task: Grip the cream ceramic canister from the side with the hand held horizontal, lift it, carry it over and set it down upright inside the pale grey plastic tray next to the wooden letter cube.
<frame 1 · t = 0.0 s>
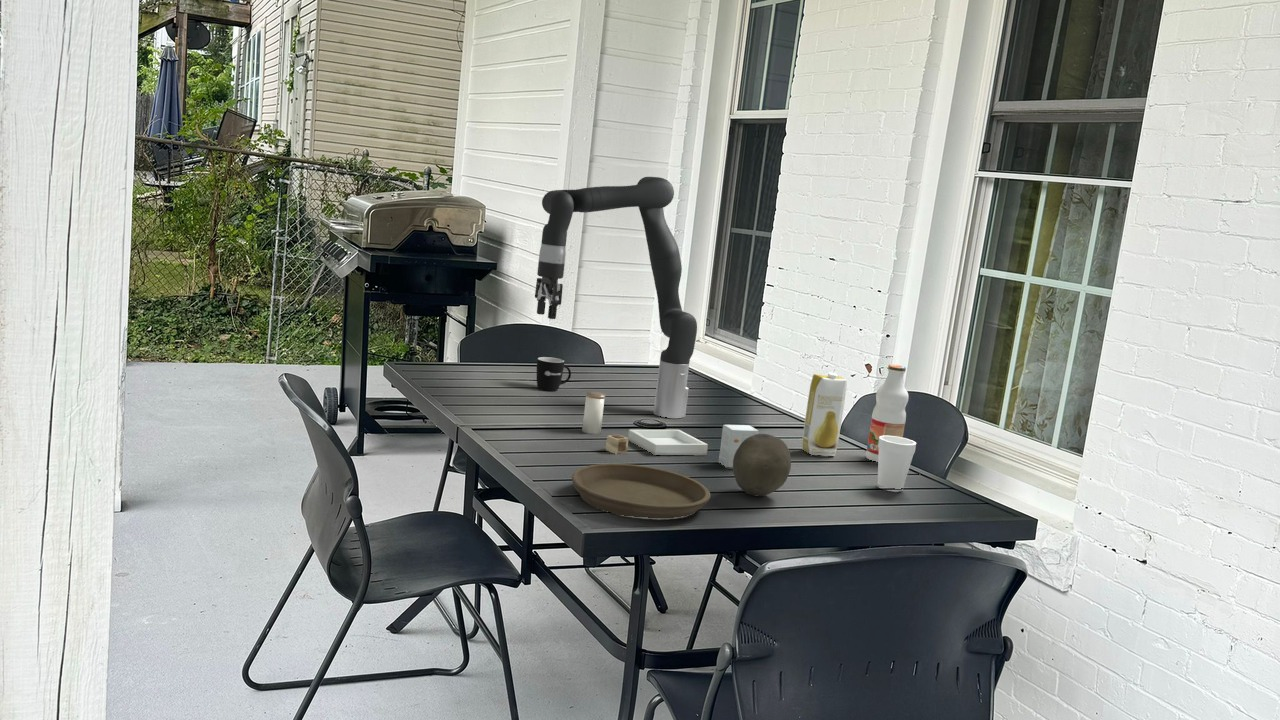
hand: (545, 316, 295), 29 cm above the table, tool pointing down, fingers open, 8 cm apart
tray: (666, 447, 279), on the table
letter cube: (616, 451, 269), on the table
foam cup: (889, 489, 265), on the table
cantaloupe: (757, 497, 243), on the table
fruit juice: (881, 461, 295), on the table
mug: (552, 390, 340), on the table
canister: (591, 431, 287), on the table
small box: (735, 466, 269), on the table
juice carton: (818, 454, 294), on the table
plant saucer: (638, 503, 227), on the table
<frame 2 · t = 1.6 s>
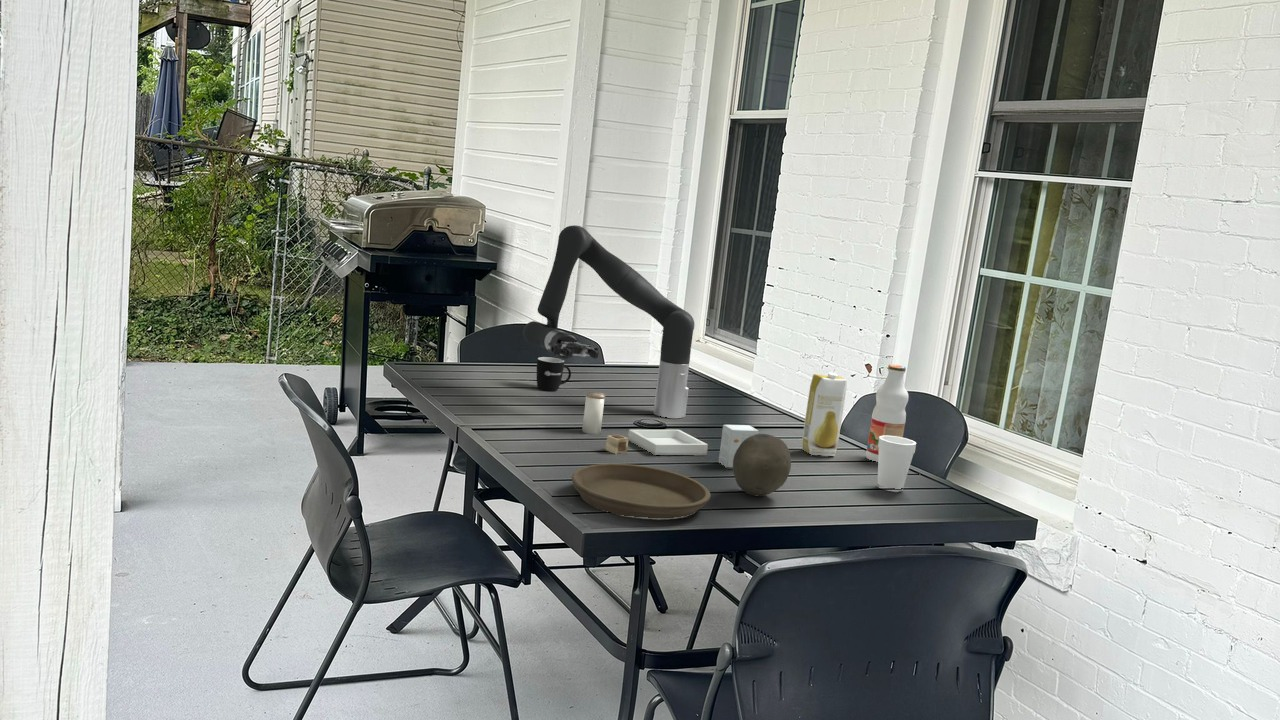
hand: (583, 354, 293), 20 cm above the table, tool horizontal, fingers open, 8 cm apart
nothing on the table moved.
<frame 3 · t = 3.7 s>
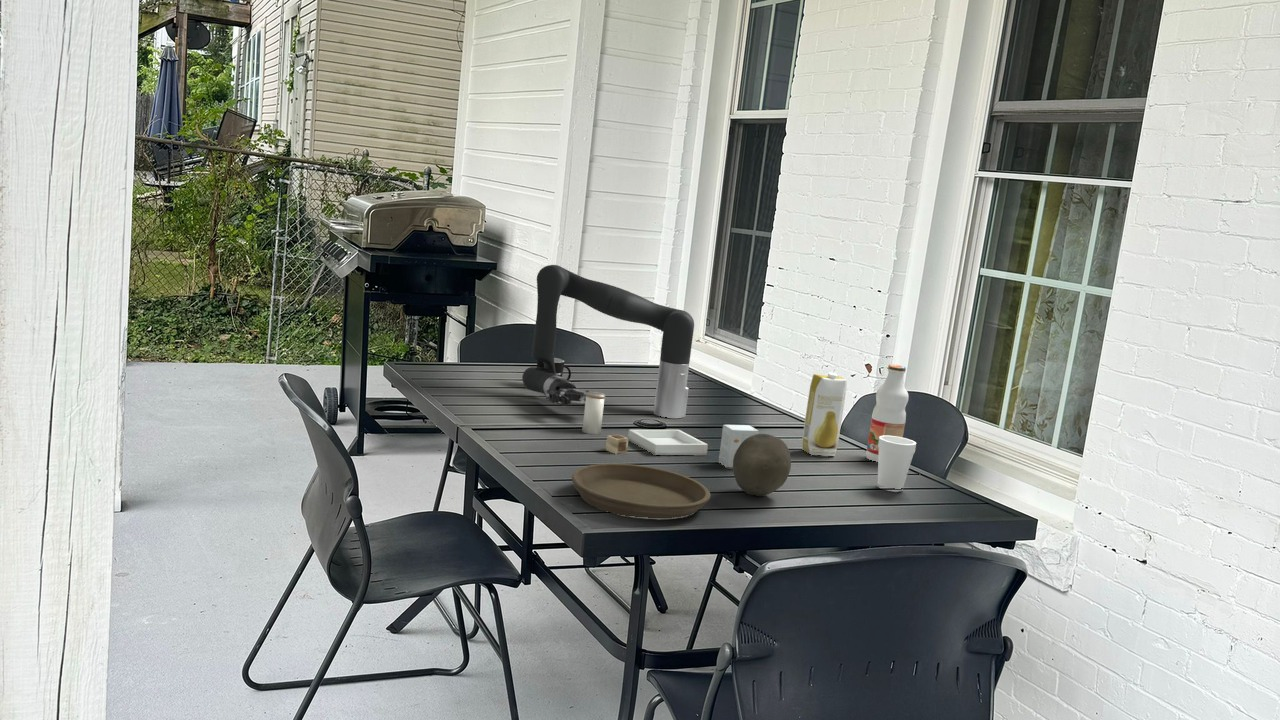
hand: (581, 402, 293), 7 cm above the table, tool horizontal, fingers open, 8 cm apart
nothing on the table moved.
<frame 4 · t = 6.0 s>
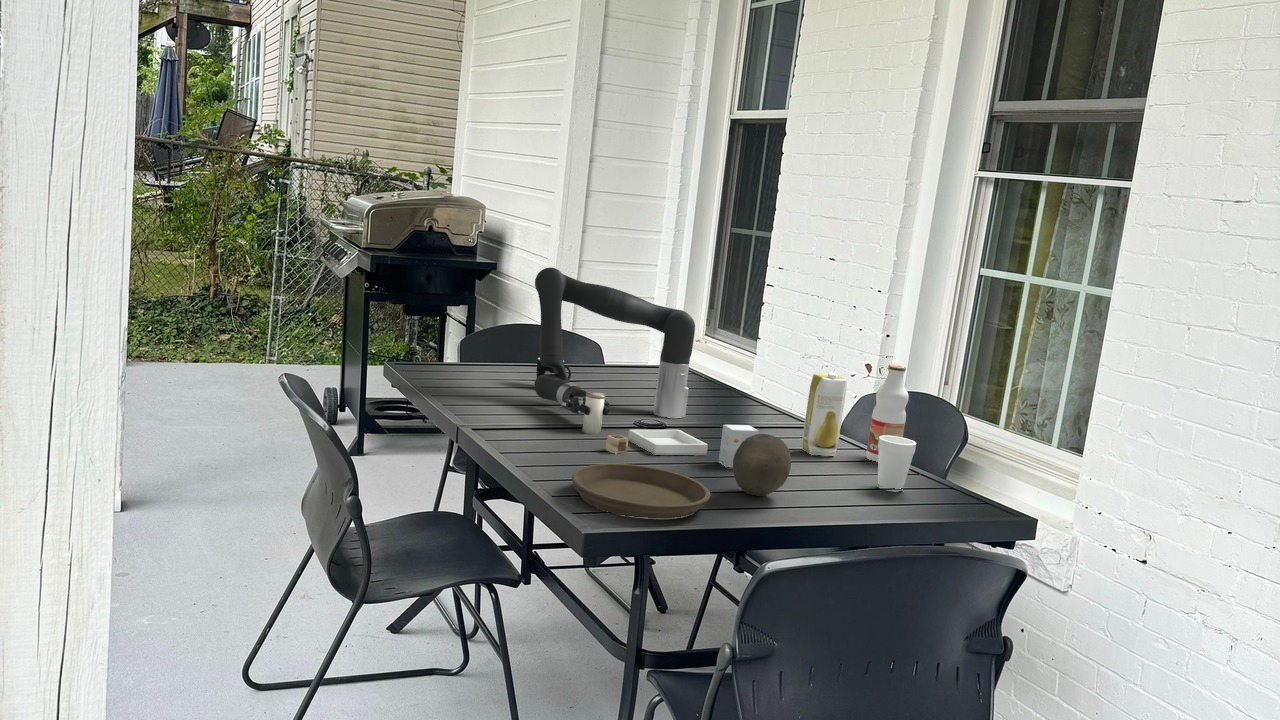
hand: (597, 411, 284), 7 cm above the table, tool horizontal, fingers closed on canister, 5 cm apart
canister: (591, 431, 287), on the table, touching gripper
everything else where it was.
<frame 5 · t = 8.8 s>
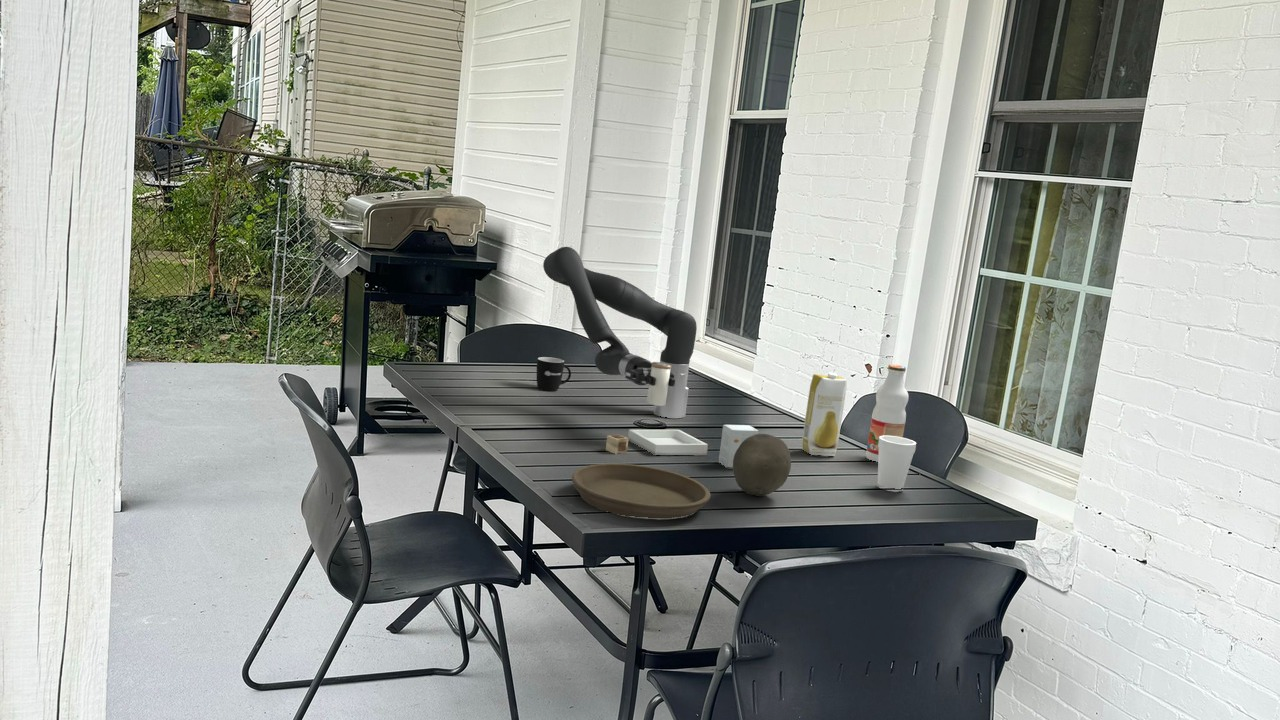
hand: (663, 382, 275), 18 cm above the table, tool horizontal, fingers closed on canister, 5 cm apart
canister: (656, 403, 279), point 12 cm above the table, touching gripper
everything else where it was.
when the fingers open (8 cm above the table, at t = 11.4 s): canister stays where it is, resting on tray.
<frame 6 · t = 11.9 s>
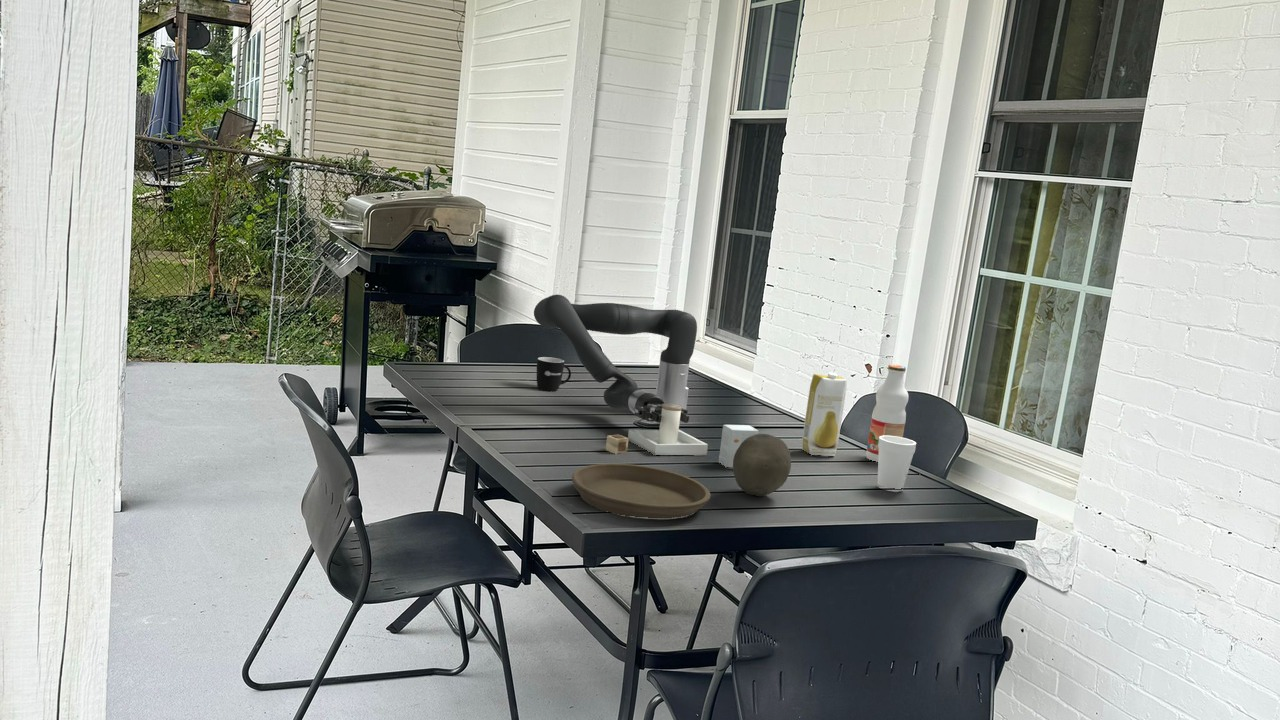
hand: (673, 419, 276), 8 cm above the table, tool horizontal, fingers open, 8 cm apart
canister: (667, 444, 279), point 1 cm above the table, touching tray
everything else where it was.
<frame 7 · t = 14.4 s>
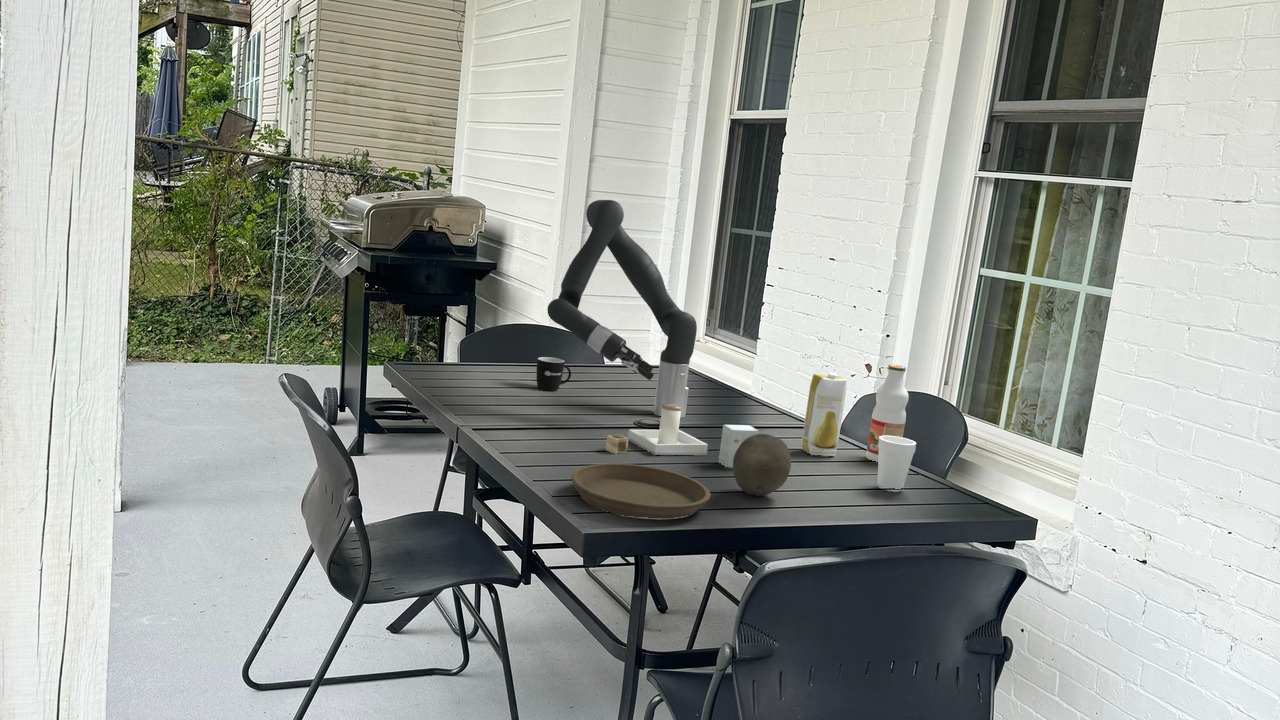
hand: (651, 374, 294), 17 cm above the table, tool tilted 65°, fingers open, 8 cm apart
nothing on the table moved.
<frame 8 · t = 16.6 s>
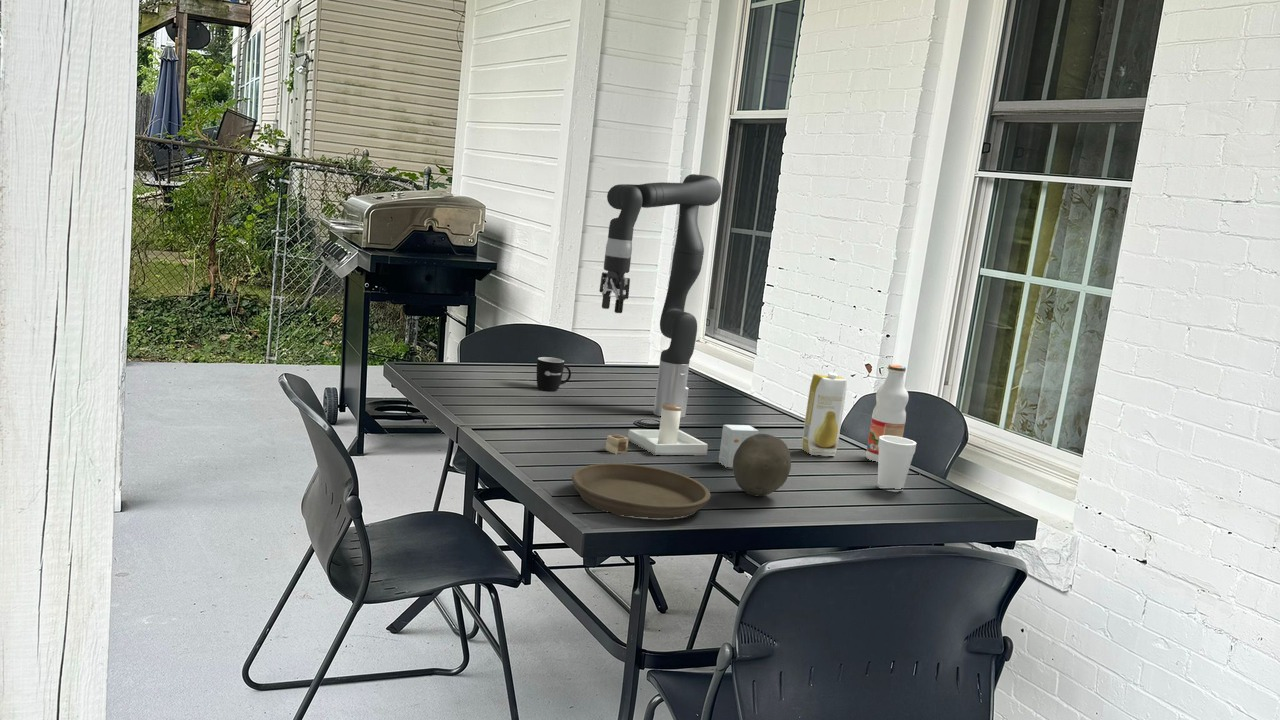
hand: (611, 310, 296), 33 cm above the table, tool pointing down, fingers open, 8 cm apart
nothing on the table moved.
at the end: canister inside the target area on the tray (0.0 cm from its centre), point 0.8 cm above the tray's base; canister tilted 0°; the gripper is holding nothing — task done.
